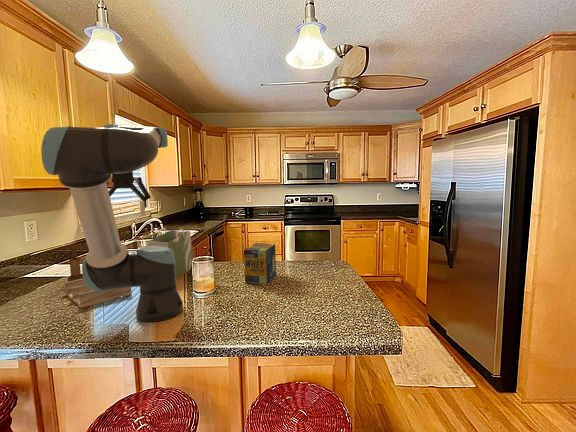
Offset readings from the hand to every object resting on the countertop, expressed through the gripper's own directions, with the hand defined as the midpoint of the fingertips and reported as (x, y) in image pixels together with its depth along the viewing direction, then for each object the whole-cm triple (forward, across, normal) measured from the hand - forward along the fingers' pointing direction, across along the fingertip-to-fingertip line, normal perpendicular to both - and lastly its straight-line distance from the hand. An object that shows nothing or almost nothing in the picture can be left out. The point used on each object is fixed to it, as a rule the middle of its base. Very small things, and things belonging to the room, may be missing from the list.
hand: (126, 217), depth 125 cm
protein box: (+32, -46, +30) cm, 64 cm away
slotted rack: (+32, +10, -9) cm, 34 cm away
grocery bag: (+32, -26, -14) cm, 43 cm away
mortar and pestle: (+32, +11, -38) cm, 51 cm away
